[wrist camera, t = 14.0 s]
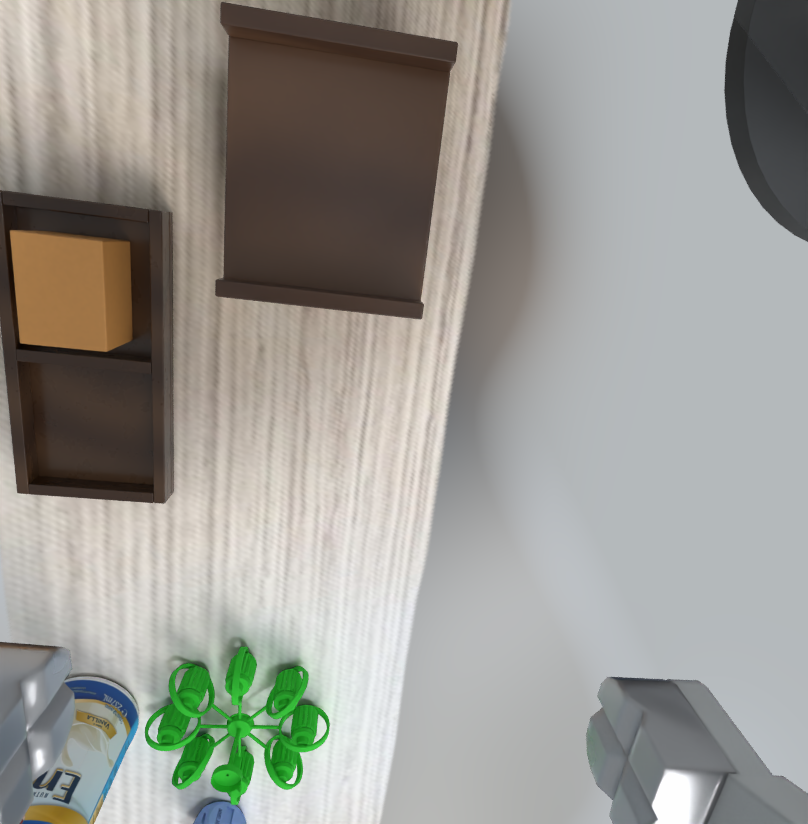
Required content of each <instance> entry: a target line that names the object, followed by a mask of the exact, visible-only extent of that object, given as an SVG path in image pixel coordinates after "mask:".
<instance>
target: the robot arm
mask: <svg viewBox="0 0 808 824" xmlns="http://www.w3.org/2000/svg"><path fill="white" fill-rule="evenodd" d="M71 670H72V663H71V656H70V650H68V649H66V648H64V647H56V646H43V645H31V644H18V643H6V642H0V824H20V822H21V820H22V818H23V817H24V815H25V813H26V812H27V810H28V808H29V807H30V805H31V803H32V802H33V800H34V794H33V784H32V782H33V781H34V780H35V779H37V778H38V777H39V776H41V775H42V774H44V773H45V772H46V771H48V770H49V769H51V768H52V767H53V766H54V764H55V762H56V761H57V759H58V757H59V755H60V754H61V752H62V750H63V748H64V746H65V744H66V741H67V738H68V735H69V732H70V730H71V727H72V724H73V717H74V710H75V699H74V692H73V691H72V690H71V689H70V688H69V687H68V686H67V685H66V684H65V683H64V680H65V679H66V677H67V676H68V674H69V673H70V671H71ZM598 698H599V700H600V702H601V704H602V706H603V707H602V708H601V709H600V710H599V711H598V712H597V713H595V714H594V715H593V716H592V717H591V718H590V722H589V726H588V730H587V733H586V737H587V738H586V739H587V756H588V760H589V764H590V768H591V771H592V774H593V776H594V779H595V781H596V784H597V786H598V787H599V788H600V789H601V790H602V791H604V792H605V793H606V794H607V795H608V796H609V797H610V798H611V799H612V800H613V803H612V807H611V811H610V818H611V820H612V823H613V824H808V793H806V792H805V791H803V790H802V789H801V788H799V787H798V786H796V785H795V784H793V783H792V782H791V781H789V780H788V779H786V778H785V777H783V776H774V775H772V773H771V772H770V771H769V769H768V768H767V767H766V765H765V764H764V763H763V761H762V760H761V759H760V757H759V756H758V755H757V753H756V752H755V751H754V749H753V748H752V747H751V745H750V744H749V743H748V741H747V740H746V739H745V737H744V736H743V735H742V733H741V732H740V730H739V729H738V728H737V727H736V725H735V724H734V723H733V721H732V720H731V719H730V717H729V716H728V714H727V713H726V712H725V710H724V709H723V708H722V706H721V705H720V704H719V702H718V701H717V700H716V698H715V697H714V696H713V694H712V693H711V692H710V690H709V689H708V688H707V687H706V686H705V685H704V684H702V683H701V682H699V681H697V680H671V679H668V680H663V679H644V678H622V677H607V678H606V679H605V680H604V681H603V682H602V683H601V686H600V689H599V692H598Z"/></svg>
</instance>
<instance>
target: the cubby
mask: <svg viewBox="0 0 808 824" xmlns="http://www.w3.org/2000/svg"><path fill="white" fill-rule="evenodd" d="M220 23H221V25H222V26H223V28H224V29H225V31H226V32H227V34H228V35H229V50H228V95H227V140H226V185H225V230H224V275H223V278H221V279H217V280H216V291H215V295H216V296H217V297H226V298H235V299H244V300H253V301H262V302H271V303H279V304H288V305H297V306H306V307H315V308H324V309H333V310H342V311H350V312H359V313H368V314H377V315H386V316H395V317H404V318H413V319H422V315H423V308H424V304H423V303H422V302H421V295H422V287H423V279H424V271H425V264H426V256H427V248H428V240H429V233H430V225H431V217H432V209H433V201H434V194H435V186H436V178H437V170H438V163H439V155H440V147H441V139H442V132H443V124H444V116H445V108H446V101H447V93H448V85H449V77H450V71H451V69H452V67H453V66H454V64H455V62H456V55H457V48H458V43H457V42H453V41H447V40H441V39H435V38H429V37H423V36H418V35H412V34H406V33H400V32H394V31H388V30H383V29H377V28H371V27H365V26H359V25H353V24H347V23H342V22H336V21H330V20H324V19H318V18H312V17H307V16H301V15H295V14H289V13H283V12H277V11H272V10H266V9H260V8H254V7H248V6H242V5H236V4H231V3H225V2H221V15H220Z"/></svg>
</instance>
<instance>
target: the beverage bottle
mask: <svg viewBox="0 0 808 824" xmlns="http://www.w3.org/2000/svg"><path fill="white" fill-rule="evenodd" d="M64 683H65V684H66V685H67V686H68V687H69V688H70V689H71V690H72V691H73V692H74V699H75V710H74V717H73V724H72V727H71V730H70V732H69V735H68V738H67V741H66V744H65V746H64V748H63V750H62V752H61V754H60V755H59V757H58V759H57V761H56V762H55V764H54V766H53V767H52V768H51V769H49V770H48V771H46V772H45V773H44V774H42V775H41V776H39V777H38V778H37V779H35V780H34V781H33V782H32V784H33V794H34V800H33V802H32V803H31V805H30V807H29V808H28V810H27V812H26V813H25V815H24V817H23V818H22V820H21V822H20V824H94V822H95V820H96V818H97V816H98V813H99V811H100V809H101V807H102V804H103V802H104V800H105V798H106V795H107V793H108V791H109V789H110V786H111V784H112V782H113V780H114V777H115V775H116V773H117V771H118V769H119V766H120V764H121V762H122V760H123V757H124V755H125V753H126V751H127V749H128V747H129V745H130V743H131V741H132V740H133V737H134V735H135V733H136V731H137V728H138V725H139V710H138V707H137V704H136V702H135V700H134V699H133V697H132V696H131V695H130V694H129V693H128V692H127V691H126V690H125V689H124V688H122V687H121V686H120V685H118V684H116V683H114V682H112V681H109V680H106V679H103V678H98V677H90V676H84V677H75V678H71V679H67V680H65V681H64Z"/></svg>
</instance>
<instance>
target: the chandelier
mask: <svg viewBox="0 0 808 824" xmlns="http://www.w3.org/2000/svg"><path fill="white" fill-rule="evenodd" d="M256 666H257V663H256V660H255V658H254V657H253V656H252V655H251V654H249V650H248V647H240V649H239V651H238V654H237V655H235V656H234V657H233V658H232V659H231V662H230V666H229V669H228V672H227V676H226V679H225V681H226V685H225V688H226V691H227V692H228V693H229V694H230V695H231V698H232V704H233V705H238V713H237V714H234V715H232V716H230V717H229V716H228V715H227V714H226V713H224V712H223V711H222V710H220V709H219V708H218V707H217V706H215V705H214V704H213V703H214V698H215V692H214V687H213V684H212V681H211V679H210V676H209V673H208V671H207V670H205V669H204V668H201V667H199V666H197V665H195V664H191V663H186V664H183V665H181V666H180V667H178V668H177V669H176V670H175V671H174V672H173V673H172V675H171V677H170V680H169V692H170V696H171V699H172V701H173V704H170V705H167V706H165V707H163V708H161V709H159V710H158V711H156V712H155V713H154V714H153V715H152V716H151V717H150V719H149V720H148V722H147V724H146V727H145V738H146V741H147V743H148V744H149V745H150V746H151V747H152V748H154V749H156V750H160V751H171V750H175V749H178V748H181V747H183V746H185V748H184V751H183V754H182V756H181V759H180V760H179V762H178V764H177V766H176V768H175V771H174V773H173V777H172V784H173V785H174V786H175V787H176V788H178V789H184V788H186V787H187V786H189V785H190V784H191V783H192V782H194V781H196V780H198V779H199V778H200V776H201V773H202V772H203V771H204V770H205V766H206V765H207V763H208V761H209V759H210V757H211V755H212V753H213V750H214V747H215V746H217V745H218V744H220V743H221V742H222V741H224V740H225V739H226V738H228V737H229V736H230V735H231V736H232V737H235V738H234V742H233V746H232V750H231V754H230V758H229V762H228V764H225V765H221V766H219V767H217V768H216V769H215V770H214V772H213V775H212V778H211V784H212V786H213V787H214V788H215V789H216V790H218V791H221V792H227V793H228V794H229V796H230V797H231V805H238V803H239V801H240V797H241V795H242V794H244V793H245V792H246V790H247V787H248V785H249V784H250V780H251V776H252V771H253V766H254V758H253V756H252V754H250V753H248V752H247V748H246V746H241V738H243V737H246V736H247V735H248V736H249V737H251V738H252V739H253V740H255V741H256V742H257V743H258V744H260V745H261V746H262V747H264V748H265V752H264V758H265V764H266V768H267V771H268V773H269V775H270V777H271V779H272V780H273V781H274V783H275V784H276V785H278V786H279V787H280V788H282V789H286V790H289V789H292V788H293V787H295V786H296V785H297V784H298V783H299V782H300V780H301V778H302V774H303V765H302V759H301V756H300V753H299V752H308V751H312V750H314V749H316V748H318V747H319V746H321V745H322V744H323V743H324V742H325V740H326V739H327V737H328V734H329V727H330V723H329V719H328V716H327V715H326V713H325V712H324V711H323V710H321V709H320V708H318V707H315V706H312V705H301V706H297V707H296V705H297V703H298V701H299V700H300V699H301V697H302V695H303V693H304V691H305V689H306V687H307V683H308V672H307V671H306V670H305V669H304V668H303V667H301V666H296V667H294V668H292V669H286V670H283V671H282V672H280V673H279V675H278V676H277V678H276V683H275V686H274V687H273V689H272V691H271V693H270V695H269V697H268V700H267V703H266V706H265V707H263V708H262V709H261V710H259V711H258V712H256V713H255V714H254V715H252V716H251V717H250V716H249V715H247V714H243V713H241V708H242V698H243V695H244V694H246V693H247V692H248V690H249V688H250V686H251V685H252V681H253V679H254V674H255V670H256ZM180 669H189V670H188V671H186V672H185V674H184V677H183V679H182V681H181V684H180V686H179V689H178V691H177V692H176V688H175V678H176V675H177V672H178V671H179V670H180ZM300 671H303V679H302V678H301V676H300V674H299V673H298V672H300ZM286 681H287V682H286ZM291 682H292V683H291ZM207 689H208V693H209V702H208V706H207V708H206V710H205V711H203V712H199V711H198V709H197V708H198V706H199V705H200V703H201V702H202V701H203V698H204V696H205V693H206V691H207ZM273 701H274V707H275V708H276V709H277V710H278V711H279V712H277V713H272V704H273ZM211 707H212V708H214V709H215V710H216V711H217V712H219V713H220V714H221V715H222V716H224V717H225V718H226V719H228V720H227V725H201V716H203V715H204V714H205V713H207V712H208V711H209V710H210V709H211ZM264 710H266V712H267V714H268V715H269V716H271V717H272V718H273V719H279V718H281V717H282V719H281V721H280V723H279V726H273V725H254V721H253V718H255V717H256V716H257V715H259V714H260V713H262V712H263V711H264ZM163 713H164V715H163V718H162V720H161V723H160V725H159V728H158V735H157V741H158V742H159V743H156V742H154V741H153V740H151V738H150V737H149V735H148V730H149V727H150V725H151V724H152V722H153V721H154V720H155V719H156V718H157V717H159V716H160V715H161V714H163ZM292 714H293V719H292V726H291V737H292V739H290V738H288V737H286V736H284V735H283V734H282V731H281V728H282V725H283V723H284V721H285V720H286V719H287V718H288V717H289V716H291V715H292ZM318 714H319V715H320V716H322V717H323V719H324V720H325V722H326V724H327V730H326V733H325V734H324V736H323V737H322V738H321V739H320V740H319V741H317V742H316V743H313V742H314V738H315V736H316V732H317V721H318ZM307 716H308V717H307ZM191 717H192V718H198V724H197V726H196V728H195V730H194V731H193V732H192V733H191V734H190V735H189V736H188V737H187V738H185V739H184V740H182V741H180V740H181V738H183V736H184V734H185V732H186V730H187V727H188V724H189V721H190V718H191ZM175 718H176V719H175ZM200 728H228V729H227V730H228V734H227V735H225V736H224V737H223V738H221V739H220V740H219V741H217V742H216V743H215V740H214V738H213V737H212V736H211V735H209V734H204V735H202V736H200V737H195V736H196V735H197V733H198V732H199V729H200ZM252 729H279V735H276V736H274V737H273V738H271V739H270V740H269V741H268V742H267V744H266V745H265V744H264V743H263V742H261V741H260V740H259V739H258V738H256V737H255V736H254V735H252V734H251V733H250V731H251V730H252ZM194 737H195V738H194ZM207 739H209V742H208V740H207ZM273 740H279V741H277V743H276V744H275V746H274V748H273V753H272V759H271V758H270V747H271V744H272V742H273ZM237 745H238V752H237V753H236V749H237ZM296 763H297V778H296V781H295V783H294V784H287V783H286V781H289V780H290V779H291V778H292V776H293V772H294V770H295V768H296ZM179 777H180V779H182V783H180V784H178V778H179Z"/></svg>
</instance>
